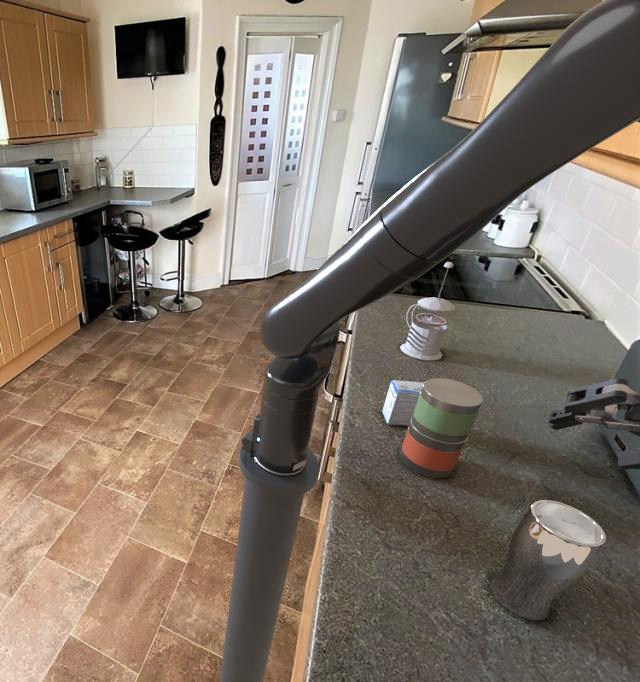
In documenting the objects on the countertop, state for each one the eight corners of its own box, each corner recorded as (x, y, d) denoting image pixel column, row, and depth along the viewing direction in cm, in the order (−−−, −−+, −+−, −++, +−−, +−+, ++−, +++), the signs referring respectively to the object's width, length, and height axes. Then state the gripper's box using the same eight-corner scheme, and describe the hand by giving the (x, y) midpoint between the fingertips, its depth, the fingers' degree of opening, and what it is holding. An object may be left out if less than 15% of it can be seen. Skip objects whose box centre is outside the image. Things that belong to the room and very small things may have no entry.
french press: (420, 362, 112) (451, 270, 100) (386, 342, 122) (410, 256, 110) (451, 357, 113) (485, 265, 102) (416, 337, 124) (442, 252, 112)
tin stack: (393, 463, 81) (417, 393, 73) (405, 440, 86) (428, 372, 79) (448, 486, 75) (479, 413, 68) (457, 460, 81) (487, 389, 73)
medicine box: (421, 416, 92) (433, 382, 88) (429, 429, 89) (442, 395, 85) (381, 412, 94) (391, 379, 90) (387, 425, 90) (397, 391, 86)
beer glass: (473, 582, 60) (514, 507, 53) (509, 567, 62) (553, 492, 55) (528, 632, 54) (582, 555, 47) (565, 614, 56) (623, 536, 49)
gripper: (850, 417, 40) (648, 448, 55) (686, 336, 43) (535, 387, 57) (856, 487, 37) (641, 500, 52) (680, 395, 40) (523, 433, 55)
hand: (585, 441), depth 55 cm, fingers open, 8 cm apart
